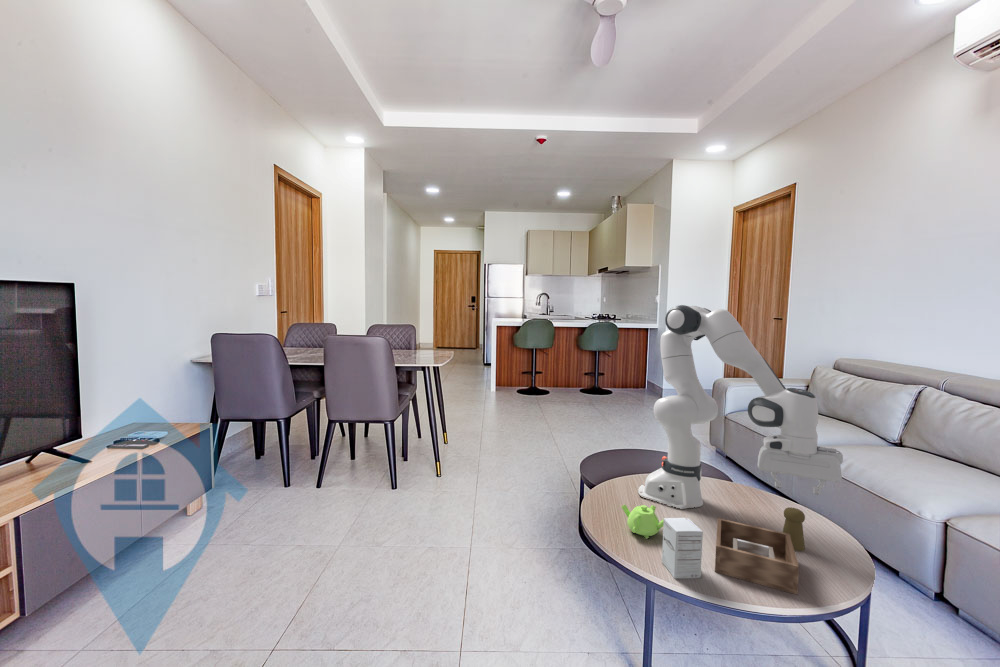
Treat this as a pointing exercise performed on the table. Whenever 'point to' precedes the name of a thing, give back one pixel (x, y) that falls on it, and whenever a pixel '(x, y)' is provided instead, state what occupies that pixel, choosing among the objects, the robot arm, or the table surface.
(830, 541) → the table surface
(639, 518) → the teapot
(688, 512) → the table surface
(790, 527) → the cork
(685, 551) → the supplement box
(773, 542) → the walled box
